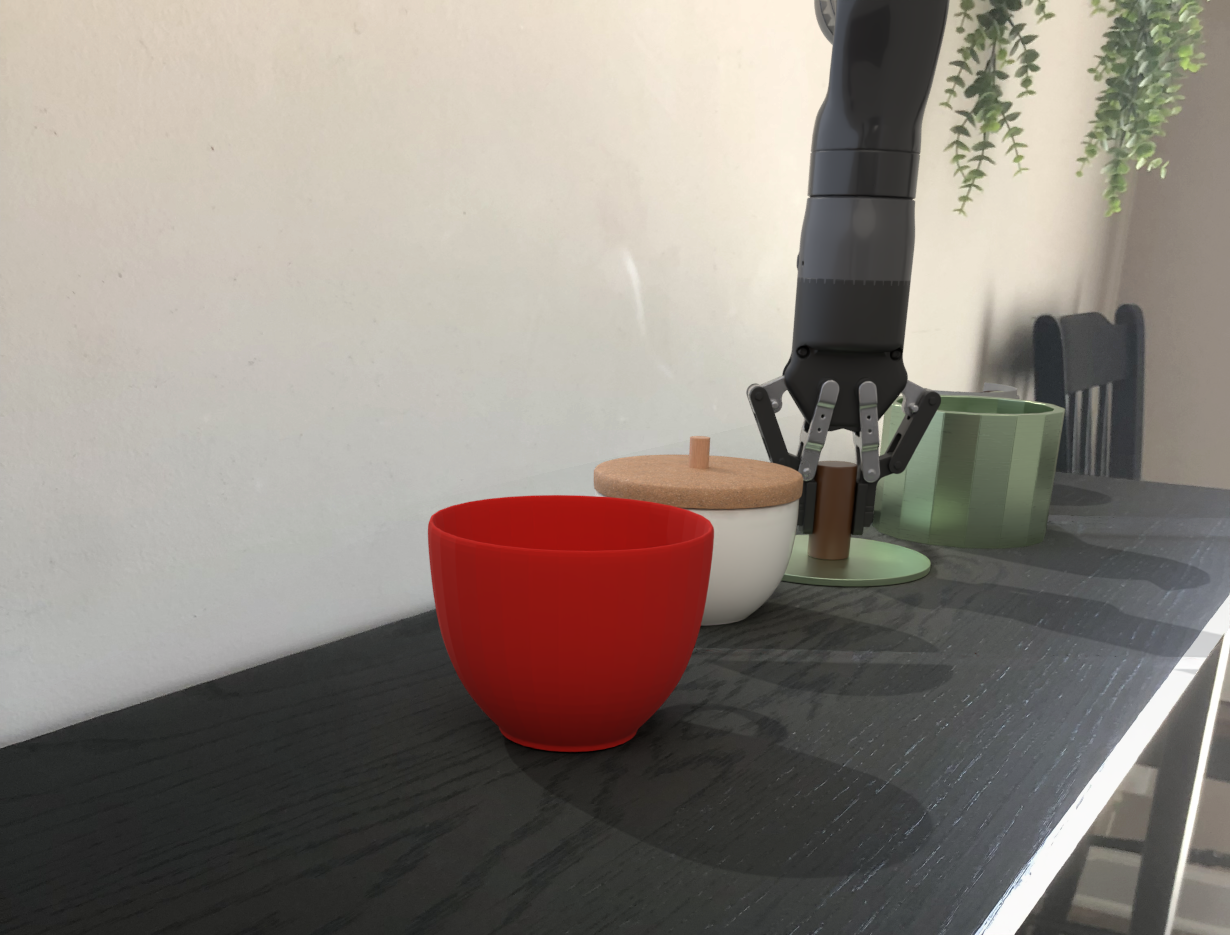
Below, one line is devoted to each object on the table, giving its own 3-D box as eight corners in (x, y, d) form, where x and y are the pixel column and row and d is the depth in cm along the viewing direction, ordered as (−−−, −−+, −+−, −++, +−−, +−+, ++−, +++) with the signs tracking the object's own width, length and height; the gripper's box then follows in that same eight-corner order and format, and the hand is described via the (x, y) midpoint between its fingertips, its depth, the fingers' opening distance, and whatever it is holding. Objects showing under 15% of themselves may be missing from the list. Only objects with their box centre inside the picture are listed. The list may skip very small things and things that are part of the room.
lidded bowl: (799, 650, 78) (816, 456, 73) (584, 641, 78) (588, 448, 74) (783, 597, 89) (797, 426, 85) (596, 590, 90) (600, 420, 85)
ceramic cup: (736, 679, 72) (748, 492, 68) (672, 793, 57) (683, 562, 53) (509, 656, 75) (508, 475, 71) (390, 759, 60) (380, 537, 56)
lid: (903, 550, 104) (915, 450, 101) (951, 597, 90) (966, 483, 87) (717, 546, 103) (723, 446, 100) (737, 593, 90) (745, 478, 87)
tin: (1014, 522, 116) (1032, 396, 111) (1066, 557, 103) (1089, 417, 99) (858, 519, 115) (871, 392, 111) (892, 553, 103) (908, 412, 99)
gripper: (756, 271, 85) (739, 541, 92) (973, 278, 86) (940, 545, 93) (742, 269, 92) (727, 520, 99) (944, 274, 92) (915, 524, 99)
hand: (830, 531), depth 96 cm, fingers closed on lid, 3 cm apart
